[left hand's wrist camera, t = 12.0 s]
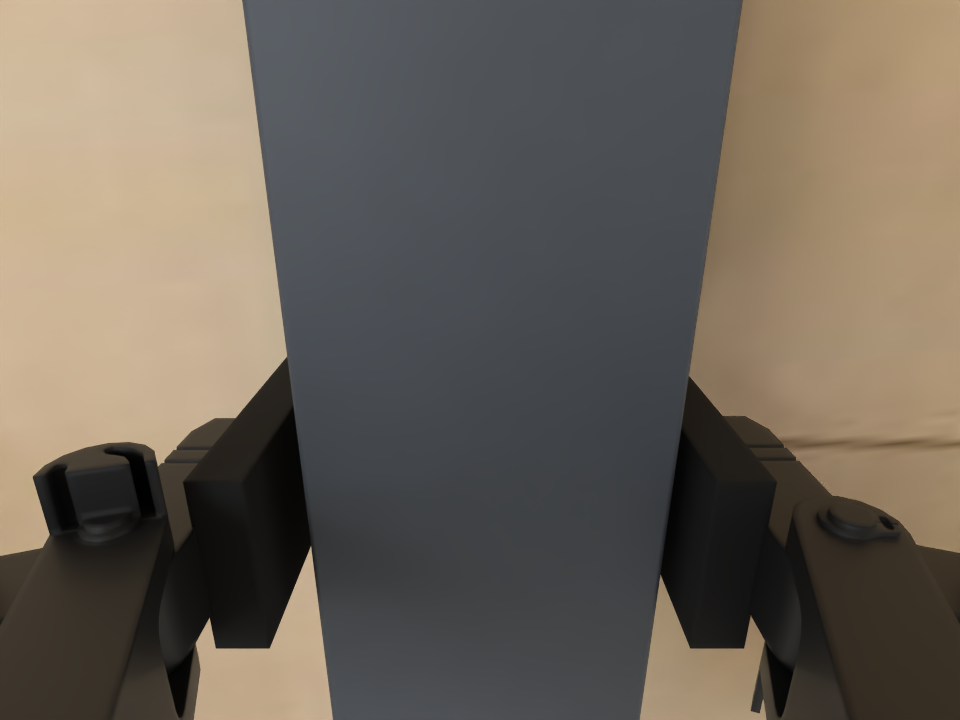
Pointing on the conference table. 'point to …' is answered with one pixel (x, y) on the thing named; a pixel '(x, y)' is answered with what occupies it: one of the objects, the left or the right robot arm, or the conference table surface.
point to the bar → (489, 331)
